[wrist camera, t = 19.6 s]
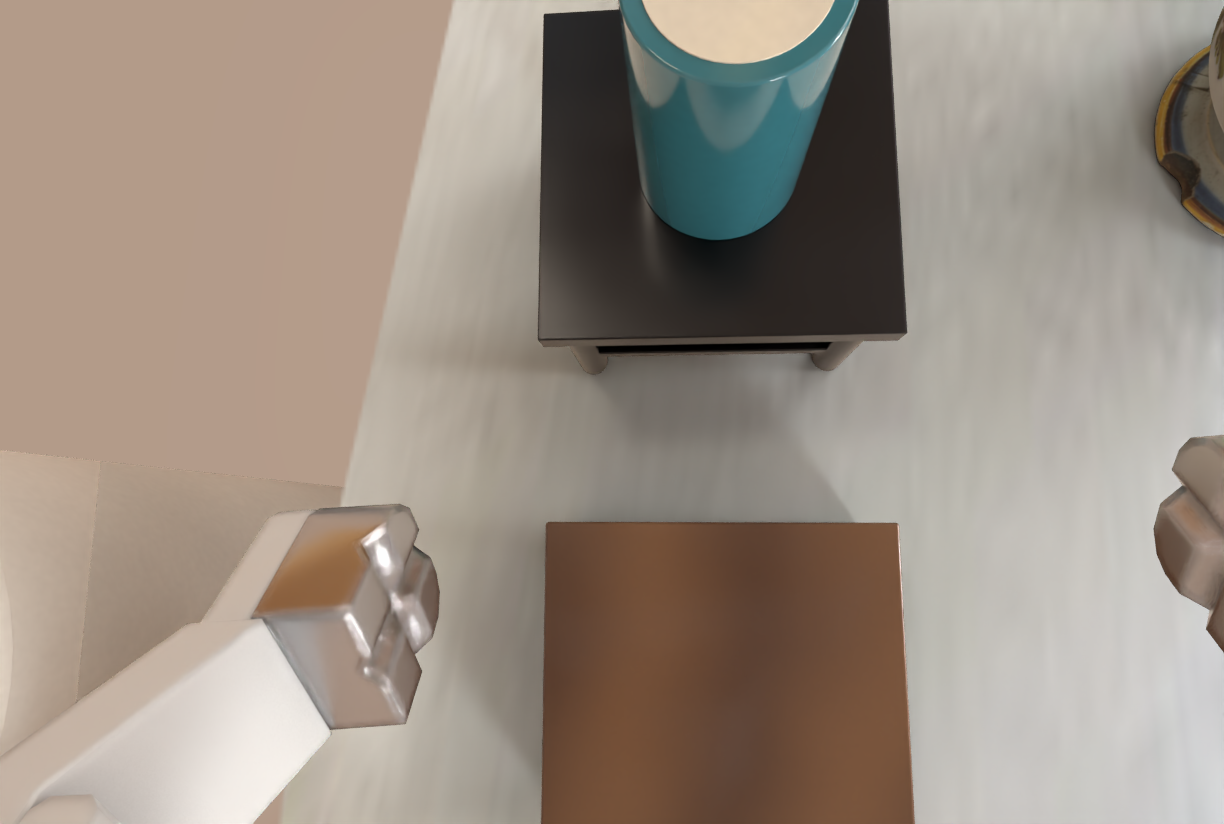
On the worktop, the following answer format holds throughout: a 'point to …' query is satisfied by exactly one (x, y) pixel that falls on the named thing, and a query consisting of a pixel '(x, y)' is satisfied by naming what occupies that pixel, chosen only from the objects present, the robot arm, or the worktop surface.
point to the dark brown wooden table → (715, 269)
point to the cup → (727, 103)
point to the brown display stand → (725, 674)
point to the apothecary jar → (1196, 132)
